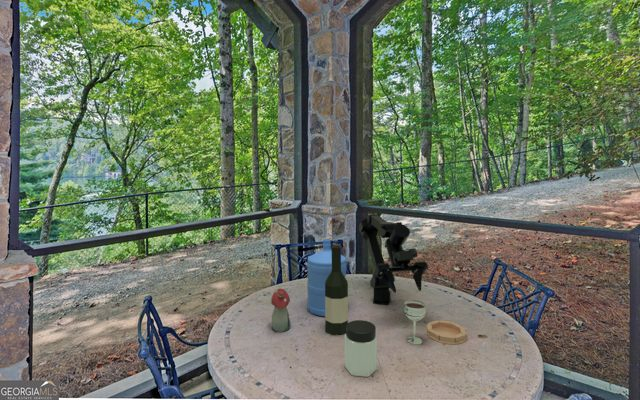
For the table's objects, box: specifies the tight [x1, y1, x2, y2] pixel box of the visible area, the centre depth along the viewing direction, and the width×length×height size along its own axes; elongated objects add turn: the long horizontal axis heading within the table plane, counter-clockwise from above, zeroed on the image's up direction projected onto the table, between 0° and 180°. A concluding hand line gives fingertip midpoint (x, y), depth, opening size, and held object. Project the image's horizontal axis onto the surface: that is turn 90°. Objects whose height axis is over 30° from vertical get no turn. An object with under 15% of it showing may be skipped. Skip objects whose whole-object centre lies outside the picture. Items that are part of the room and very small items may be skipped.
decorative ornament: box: [270, 288, 291, 333], centre depth 115 cm, size 9×6×15 cm
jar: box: [344, 319, 378, 378], centre depth 90 cm, size 9×8×12 cm
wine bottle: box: [324, 243, 349, 336], centre depth 112 cm, size 8×8×30 cm
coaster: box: [425, 320, 468, 345], centre depth 109 cm, size 13×13×2 cm
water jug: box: [306, 239, 348, 317], centre depth 130 cm, size 16×16×28 cm
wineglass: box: [403, 299, 427, 345], centre depth 105 cm, size 7×7×12 cm
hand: (407, 291), depth 113 cm, fingers open, 9 cm apart
